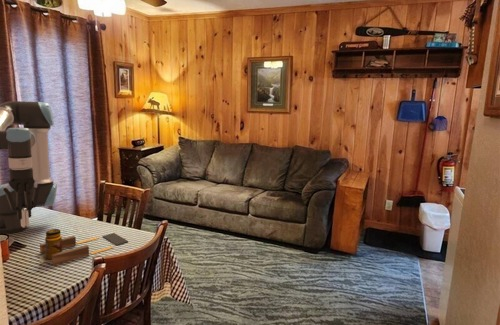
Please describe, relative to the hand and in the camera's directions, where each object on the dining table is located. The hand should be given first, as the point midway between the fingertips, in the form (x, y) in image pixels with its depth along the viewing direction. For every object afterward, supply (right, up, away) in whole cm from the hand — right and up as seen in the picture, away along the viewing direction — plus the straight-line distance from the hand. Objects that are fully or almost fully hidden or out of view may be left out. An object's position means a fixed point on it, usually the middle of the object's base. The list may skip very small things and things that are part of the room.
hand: (25, 225), depth 132 cm
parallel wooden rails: (+8, -15, +13) cm, 22 cm away
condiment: (+5, -16, +10) cm, 19 cm away
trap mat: (+24, -13, +30) cm, 40 cm away
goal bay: (+17, -14, +23) cm, 32 cm away
